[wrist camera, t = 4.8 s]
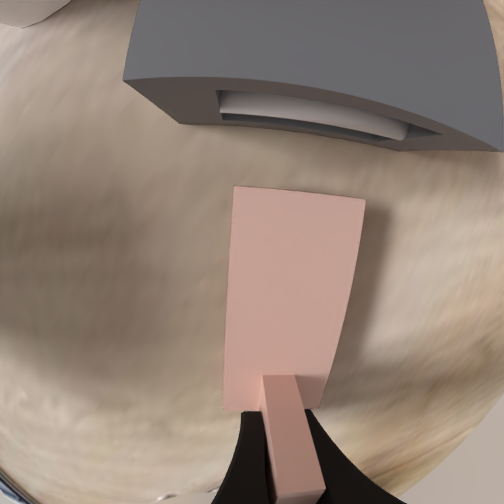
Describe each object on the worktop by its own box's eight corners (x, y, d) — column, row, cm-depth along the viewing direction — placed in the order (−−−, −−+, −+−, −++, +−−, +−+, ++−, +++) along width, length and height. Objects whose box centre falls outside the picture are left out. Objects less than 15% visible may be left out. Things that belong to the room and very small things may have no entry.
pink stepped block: (360, 198, 9) (485, 240, 4) (307, 429, 12) (333, 523, 6) (234, 185, 8) (232, 213, 3) (221, 430, 11) (221, 532, 6)
